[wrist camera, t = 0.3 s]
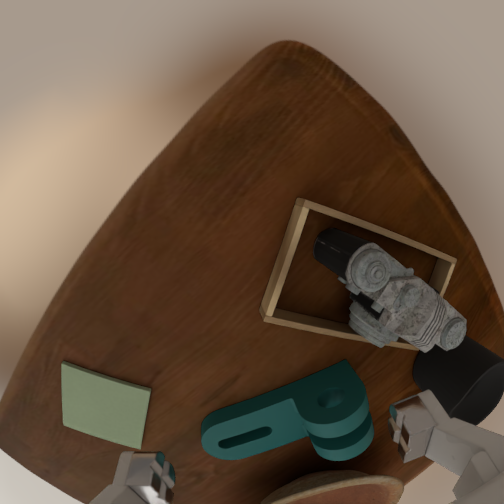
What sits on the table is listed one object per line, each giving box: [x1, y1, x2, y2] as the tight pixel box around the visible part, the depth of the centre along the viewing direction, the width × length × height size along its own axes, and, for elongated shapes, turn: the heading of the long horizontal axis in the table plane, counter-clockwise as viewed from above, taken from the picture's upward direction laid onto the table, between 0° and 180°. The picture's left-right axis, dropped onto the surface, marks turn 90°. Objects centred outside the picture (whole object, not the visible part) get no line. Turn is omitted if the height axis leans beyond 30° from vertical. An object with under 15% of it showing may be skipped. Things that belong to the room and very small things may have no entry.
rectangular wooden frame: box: [259, 197, 457, 350], centre depth 29 cm, size 11×18×2 cm, turn 72°
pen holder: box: [413, 335, 504, 426], centre depth 29 cm, size 9×9×10 cm
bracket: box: [201, 359, 374, 461], centre depth 29 cm, size 18×7×8 cm, turn 111°
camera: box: [313, 228, 467, 353], centre depth 25 cm, size 15×7×10 cm, turn 56°
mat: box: [62, 361, 151, 449], centre depth 29 cm, size 10×10×1 cm
